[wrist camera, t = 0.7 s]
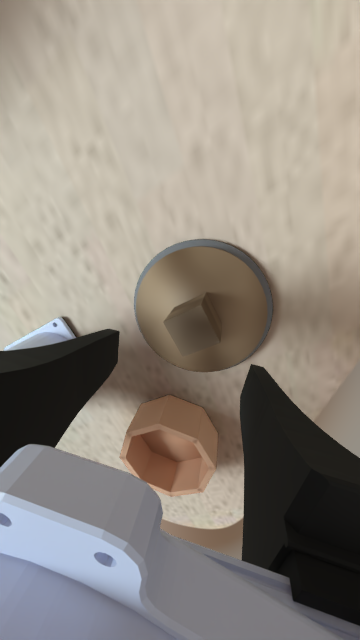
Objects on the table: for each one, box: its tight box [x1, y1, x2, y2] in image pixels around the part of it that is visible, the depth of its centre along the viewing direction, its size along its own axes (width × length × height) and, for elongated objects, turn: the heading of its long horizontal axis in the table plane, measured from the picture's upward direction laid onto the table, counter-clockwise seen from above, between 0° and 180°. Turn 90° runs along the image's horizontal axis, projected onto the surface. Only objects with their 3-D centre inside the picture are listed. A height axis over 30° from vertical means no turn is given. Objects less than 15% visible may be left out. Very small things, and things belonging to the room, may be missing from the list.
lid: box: [136, 246, 268, 372], centre depth 18 cm, size 11×11×4 cm
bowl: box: [120, 395, 218, 497], centre depth 24 cm, size 9×9×4 cm
